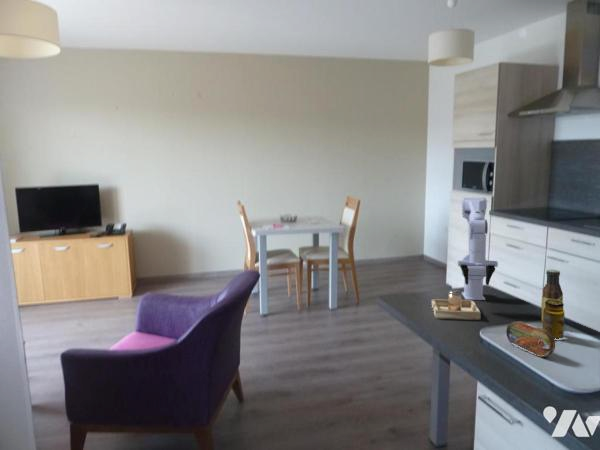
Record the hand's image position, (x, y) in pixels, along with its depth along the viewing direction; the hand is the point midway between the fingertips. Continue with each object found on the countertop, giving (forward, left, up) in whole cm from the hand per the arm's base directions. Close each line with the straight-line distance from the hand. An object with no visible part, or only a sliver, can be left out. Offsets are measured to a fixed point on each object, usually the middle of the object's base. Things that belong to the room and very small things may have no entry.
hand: (476, 284), depth 167 cm
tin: (+37, +8, -11) cm, 39 cm away
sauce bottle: (+15, +22, -11) cm, 29 cm away
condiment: (+25, +18, -11) cm, 33 cm away
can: (+5, -9, -10) cm, 14 cm away
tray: (+5, -9, -10) cm, 15 cm away
